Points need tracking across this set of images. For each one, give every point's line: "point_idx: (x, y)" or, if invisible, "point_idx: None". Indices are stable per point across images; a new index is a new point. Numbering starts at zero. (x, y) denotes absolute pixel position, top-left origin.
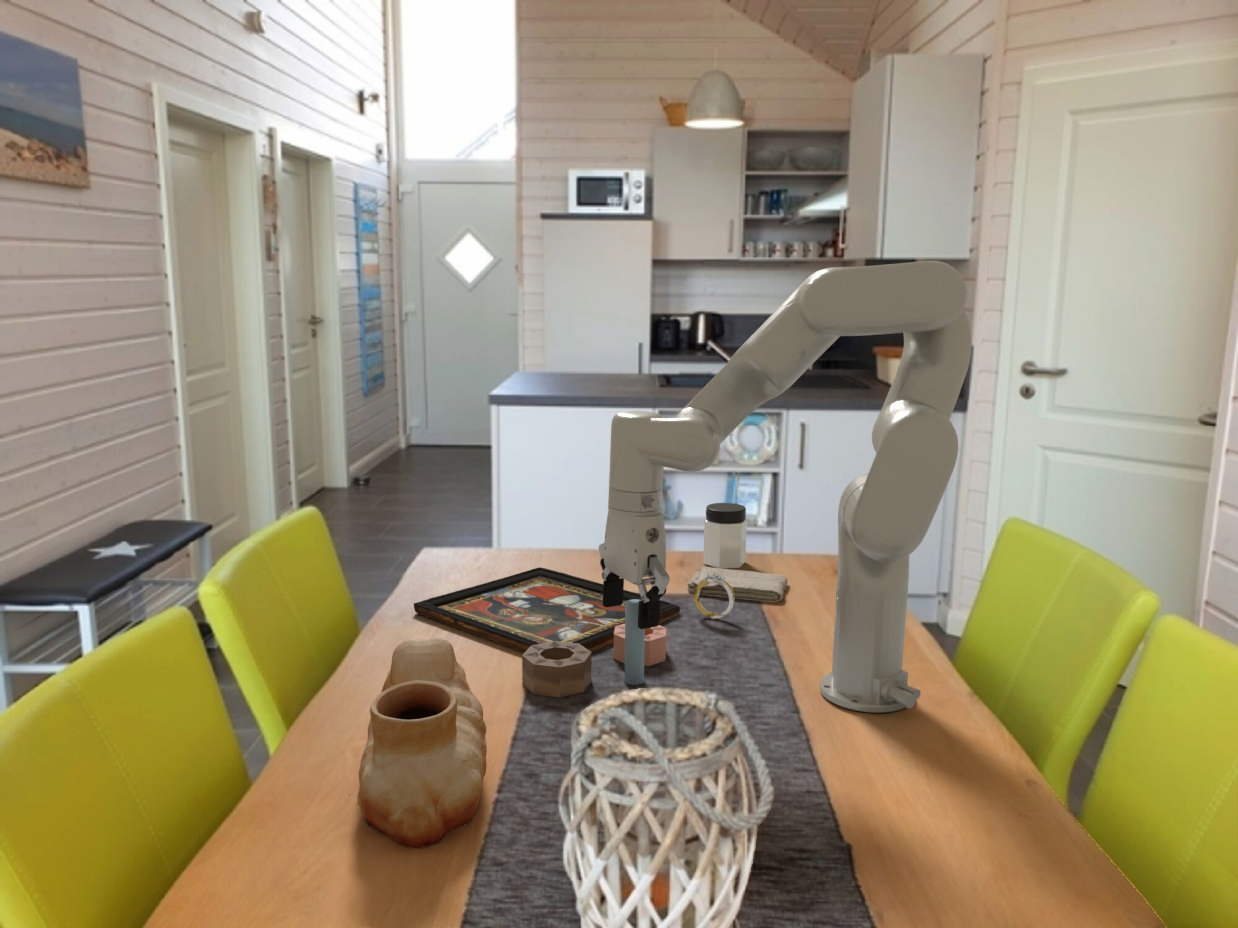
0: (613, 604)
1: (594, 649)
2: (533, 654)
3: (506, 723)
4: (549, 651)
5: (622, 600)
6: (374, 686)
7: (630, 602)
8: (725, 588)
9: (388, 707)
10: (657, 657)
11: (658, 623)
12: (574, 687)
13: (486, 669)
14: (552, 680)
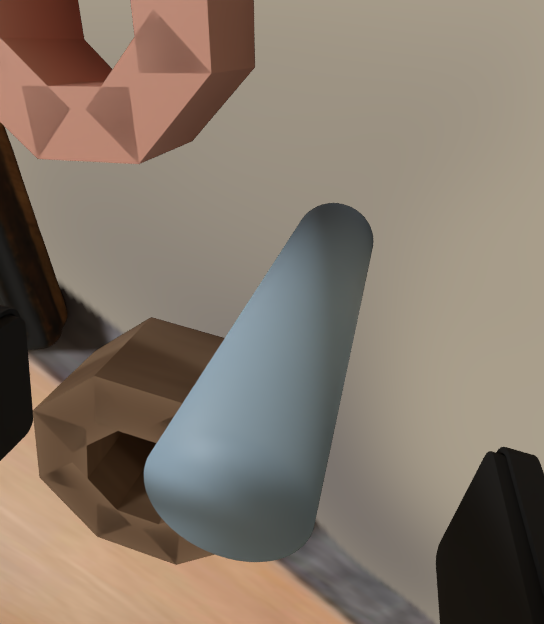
0: (24, 386)
1: (6, 141)
2: (108, 518)
3: (302, 603)
4: (94, 455)
5: (3, 333)
6: (12, 597)
7: (201, 515)
8: None
9: None
10: (245, 6)
11: (537, 466)
12: None
13: (18, 450)
14: None
